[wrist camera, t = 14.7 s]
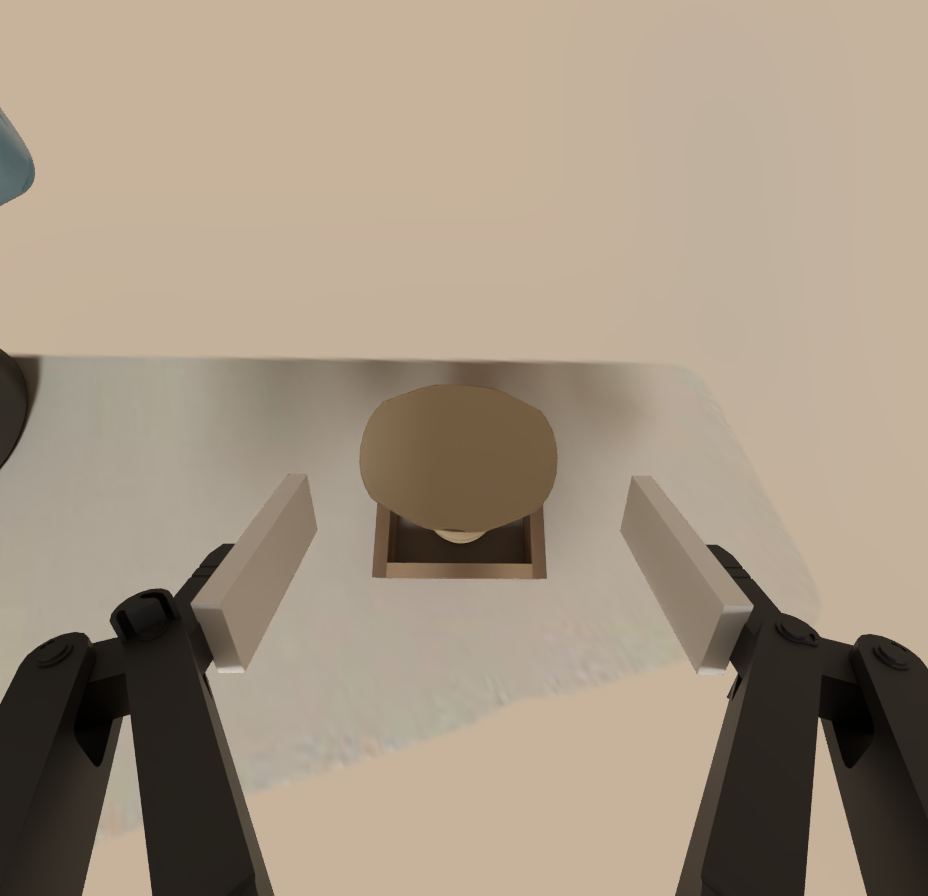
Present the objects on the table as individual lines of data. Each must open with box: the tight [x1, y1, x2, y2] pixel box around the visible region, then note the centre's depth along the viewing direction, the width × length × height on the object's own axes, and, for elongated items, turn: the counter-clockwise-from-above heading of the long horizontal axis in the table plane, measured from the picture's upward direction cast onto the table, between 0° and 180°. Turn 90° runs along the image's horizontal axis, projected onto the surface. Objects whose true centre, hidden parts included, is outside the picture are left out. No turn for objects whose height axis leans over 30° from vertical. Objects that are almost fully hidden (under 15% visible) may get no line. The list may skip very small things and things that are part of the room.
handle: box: [359, 385, 557, 544], centre depth 21 cm, size 5×6×15 cm
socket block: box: [372, 503, 547, 579], centre depth 26 cm, size 10×8×3 cm
